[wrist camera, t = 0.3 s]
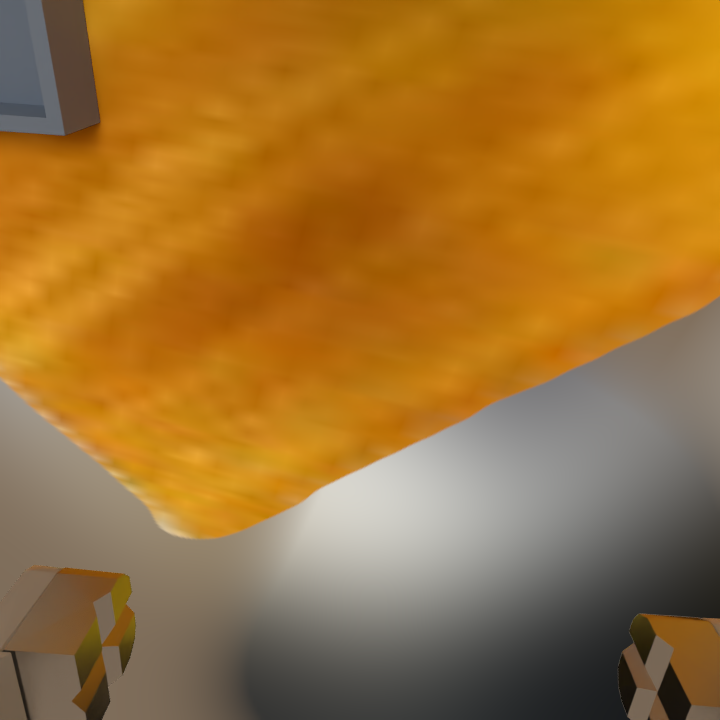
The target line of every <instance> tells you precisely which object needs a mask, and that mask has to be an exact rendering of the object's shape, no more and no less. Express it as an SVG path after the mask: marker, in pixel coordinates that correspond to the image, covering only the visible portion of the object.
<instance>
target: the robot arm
mask: <svg viewBox="0 0 720 720" xmlns="http://www.w3.org/2000/svg"><path fill="white" fill-rule="evenodd" d="M131 593H132V589H131V583H130V577H129V576H128V575H125V574H121V573H111V572H101V571H92V570H82V569H73V568H56V567H48V566H38V565H34V566H32V567H30V568H29V569H27V570H25V571H24V572H23V573H22V575H21V576H20V577H19V579H18V580H17V581H16V582H15V584H14V585H13V586H12V588H11V589H10V590H9V591H8V593H7V594H6V595H5V597H4V598H3V599H2V600H1V602H0V720H102V719H103V716H104V714H105V712H106V710H107V708H108V706H109V704H110V696H109V690H108V686H109V685H110V684H112V683H113V682H114V681H116V680H117V679H118V678H120V677H121V676H122V675H123V673H124V671H125V668H126V666H127V664H128V662H129V659H130V656H131V652H132V648H133V644H134V640H135V629H136V622H135V613H134V612H133V611H132V610H131V609H130V608H129V607H128V606H127V604H126V603H127V601H128V599H129V597H130V595H131ZM629 632H630V635H631V637H632V639H633V641H634V643H633V644H632V645H631V646H629V647H628V648H627V649H625V650H624V651H622V654H621V658H620V661H619V665H618V687H619V691H620V695H621V700H622V703H623V706H624V709H625V711H626V714H627V716H628V717H629V718H630V719H631V720H720V619H713V618H702V619H701V618H697V617H682V616H668V615H653V614H638V615H637V616H636V617H635V618H634V619H633V621H632V624H631V627H630V630H629Z"/></svg>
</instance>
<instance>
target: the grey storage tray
mask: <svg viewBox="0 0 720 720" xmlns="http://www.w3.org/2000/svg"><path fill="white" fill-rule="evenodd" d="M97 123H100V116H99V110H98V103H97V96H96V89H95V82H94V75H93V68H92V62H91V55H90V48H89V41H88V34H87V27H86V20H85V14H84V7H83V0H0V131H10V132H23V133H37V134H51V135H64V136H65V135H68V134H70V133H73V132H76V131H79V130H81V129H84V128H87V127H89V126H92V125H95V124H97Z"/></svg>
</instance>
